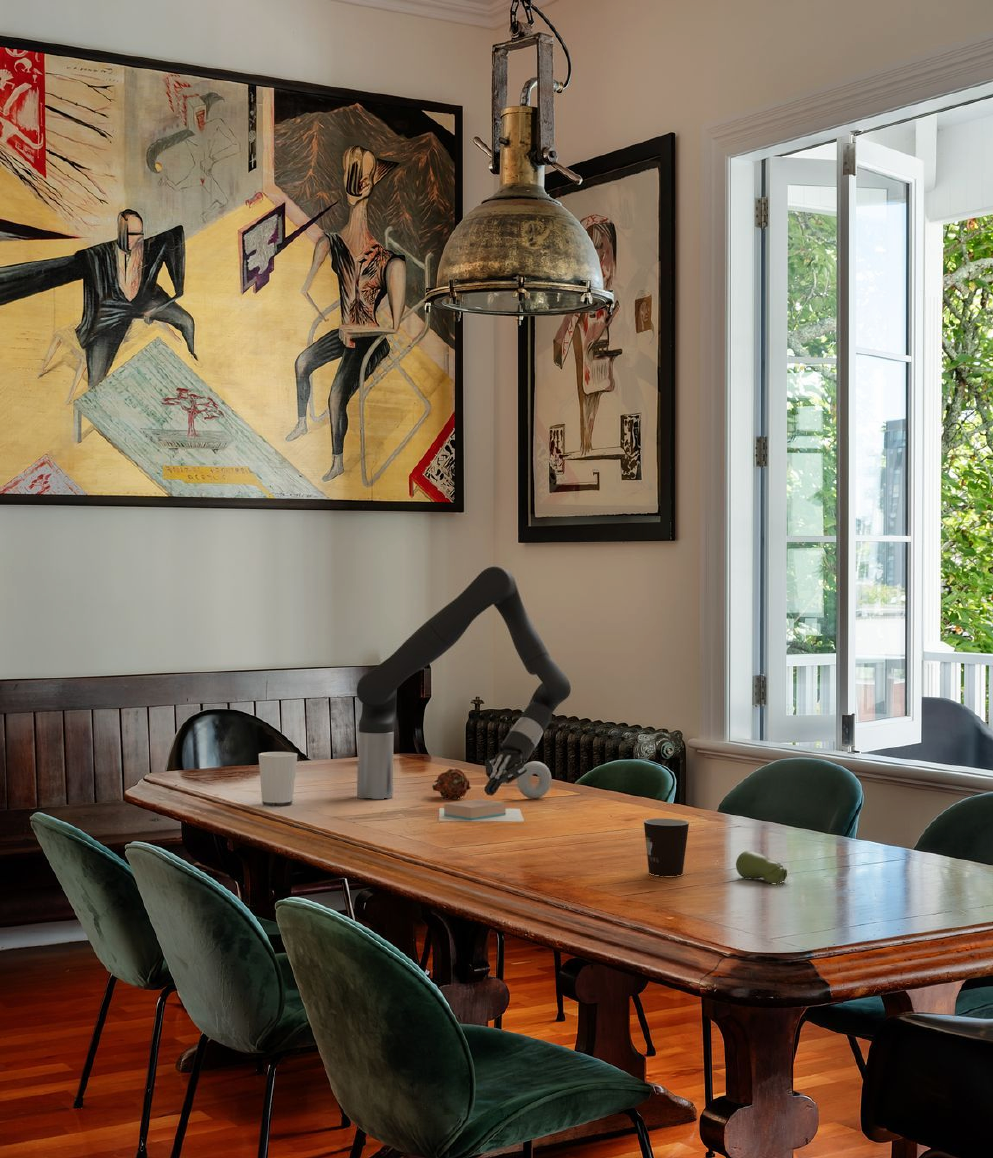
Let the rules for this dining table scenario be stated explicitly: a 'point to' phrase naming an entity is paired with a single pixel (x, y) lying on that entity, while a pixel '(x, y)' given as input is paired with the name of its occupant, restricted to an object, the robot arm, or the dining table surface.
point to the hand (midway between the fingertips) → (488, 793)
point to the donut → (544, 780)
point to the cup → (277, 777)
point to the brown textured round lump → (452, 784)
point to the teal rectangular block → (474, 809)
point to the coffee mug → (666, 845)
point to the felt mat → (511, 815)
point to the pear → (760, 867)
